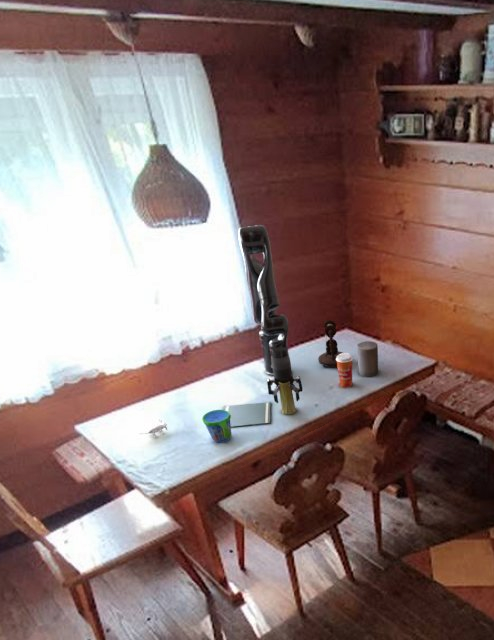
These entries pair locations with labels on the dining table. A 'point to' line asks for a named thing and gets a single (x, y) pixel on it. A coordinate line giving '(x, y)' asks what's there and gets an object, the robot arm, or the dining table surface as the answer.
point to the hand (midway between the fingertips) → (287, 401)
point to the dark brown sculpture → (330, 346)
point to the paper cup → (345, 369)
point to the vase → (287, 399)
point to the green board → (249, 414)
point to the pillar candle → (368, 358)
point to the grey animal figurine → (157, 428)
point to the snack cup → (218, 425)
